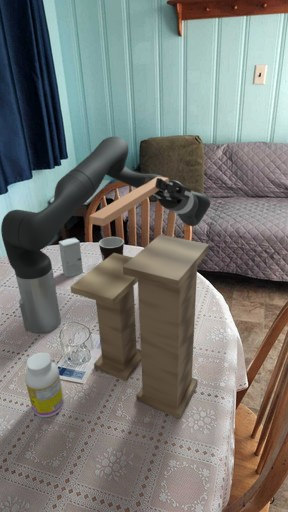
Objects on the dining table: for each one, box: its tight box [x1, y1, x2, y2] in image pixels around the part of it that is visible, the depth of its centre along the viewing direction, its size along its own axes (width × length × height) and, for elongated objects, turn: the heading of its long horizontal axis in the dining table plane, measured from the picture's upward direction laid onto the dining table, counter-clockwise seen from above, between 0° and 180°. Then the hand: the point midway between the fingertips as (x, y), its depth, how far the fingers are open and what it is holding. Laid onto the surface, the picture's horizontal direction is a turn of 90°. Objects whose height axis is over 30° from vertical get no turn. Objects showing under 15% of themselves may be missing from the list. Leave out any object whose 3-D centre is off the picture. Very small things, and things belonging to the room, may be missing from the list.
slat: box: [89, 176, 170, 227], centre depth 76 cm, size 28×3×2 cm, turn 152°
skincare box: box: [58, 237, 84, 278], centre depth 123 cm, size 6×4×12 cm
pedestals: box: [70, 234, 210, 420], centre depth 75 cm, size 18×24×34 cm
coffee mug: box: [98, 236, 125, 262], centre depth 127 cm, size 12×9×10 cm
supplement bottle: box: [24, 352, 65, 418], centre depth 73 cm, size 7×7×13 cm
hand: (150, 181), depth 81 cm, fingers closed on slat, 3 cm apart
